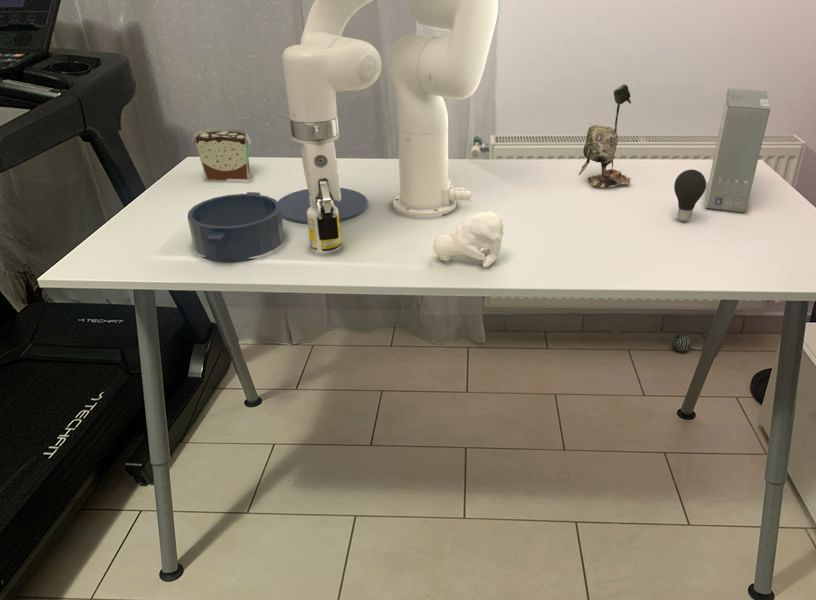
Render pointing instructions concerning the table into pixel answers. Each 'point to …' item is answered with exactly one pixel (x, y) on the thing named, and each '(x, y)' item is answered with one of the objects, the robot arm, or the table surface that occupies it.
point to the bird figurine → (605, 147)
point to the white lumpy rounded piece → (473, 239)
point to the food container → (223, 153)
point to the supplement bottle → (314, 234)
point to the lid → (299, 203)
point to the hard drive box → (737, 149)
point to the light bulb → (688, 192)
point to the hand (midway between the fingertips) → (325, 227)
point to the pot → (236, 227)
